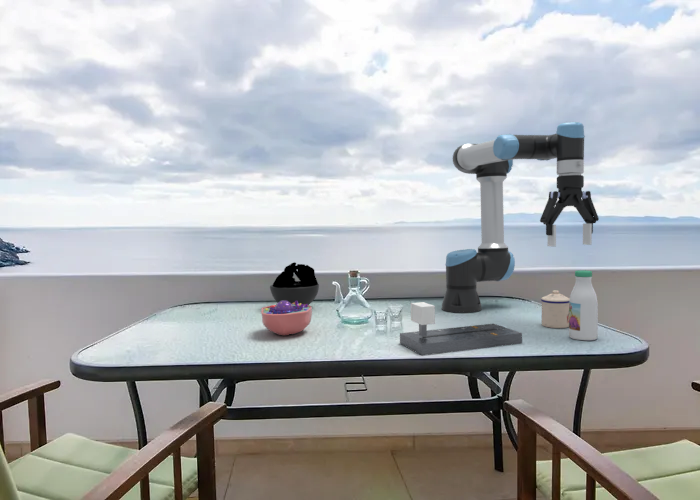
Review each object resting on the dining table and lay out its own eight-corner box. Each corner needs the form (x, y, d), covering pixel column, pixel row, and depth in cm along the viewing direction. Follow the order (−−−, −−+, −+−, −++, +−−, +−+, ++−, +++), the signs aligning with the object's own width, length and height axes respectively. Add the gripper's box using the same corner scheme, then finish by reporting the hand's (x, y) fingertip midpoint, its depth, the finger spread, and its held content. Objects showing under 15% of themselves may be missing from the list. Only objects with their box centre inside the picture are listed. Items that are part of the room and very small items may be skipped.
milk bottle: (595, 335, 153) (596, 269, 151) (599, 341, 145) (599, 272, 144) (567, 334, 155) (568, 269, 154) (569, 340, 148) (570, 272, 147)
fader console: (399, 343, 149) (399, 332, 149) (493, 333, 159) (493, 323, 159) (421, 355, 136) (421, 343, 135) (522, 343, 146) (522, 332, 146)
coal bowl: (308, 314, 197) (307, 266, 195) (262, 312, 203) (260, 265, 202) (326, 305, 216) (325, 261, 214) (283, 304, 222) (282, 261, 220)
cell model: (320, 327, 174) (319, 294, 173) (303, 341, 154) (302, 304, 153) (273, 326, 177) (272, 294, 176) (250, 340, 158) (249, 303, 157)
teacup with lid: (574, 328, 162) (574, 292, 162) (545, 328, 163) (545, 292, 163) (563, 321, 174) (563, 287, 174) (535, 321, 175) (535, 287, 175)
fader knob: (411, 333, 146) (410, 303, 145) (423, 332, 147) (423, 302, 147) (422, 338, 139) (421, 307, 139) (435, 337, 141) (434, 305, 140)
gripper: (545, 173, 145) (545, 247, 147) (612, 174, 154) (611, 244, 155) (527, 176, 152) (527, 246, 154) (592, 176, 161) (591, 243, 162)
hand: (569, 245), depth 154 cm, fingers open, 13 cm apart
